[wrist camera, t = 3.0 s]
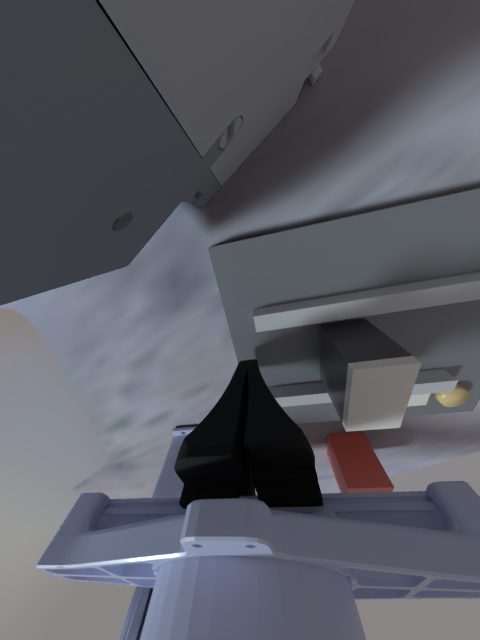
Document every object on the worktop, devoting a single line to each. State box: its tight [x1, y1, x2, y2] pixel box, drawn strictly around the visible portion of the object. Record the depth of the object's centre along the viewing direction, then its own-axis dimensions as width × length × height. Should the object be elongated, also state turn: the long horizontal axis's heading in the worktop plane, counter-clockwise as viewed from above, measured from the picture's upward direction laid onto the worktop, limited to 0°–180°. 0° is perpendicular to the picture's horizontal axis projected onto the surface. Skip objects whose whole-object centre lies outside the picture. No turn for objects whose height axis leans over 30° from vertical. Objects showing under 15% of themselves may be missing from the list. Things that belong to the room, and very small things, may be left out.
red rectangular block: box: [327, 432, 394, 493], centre depth 20 cm, size 4×4×5 cm
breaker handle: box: [320, 319, 422, 432], centre depth 11 cm, size 3×5×4 cm, turn 11°
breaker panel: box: [208, 187, 480, 424], centre depth 14 cm, size 20×18×3 cm
